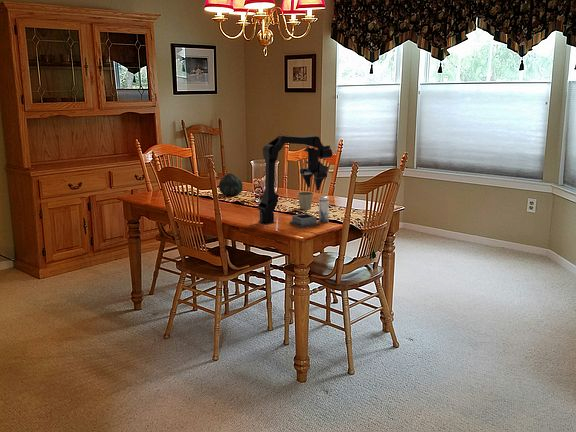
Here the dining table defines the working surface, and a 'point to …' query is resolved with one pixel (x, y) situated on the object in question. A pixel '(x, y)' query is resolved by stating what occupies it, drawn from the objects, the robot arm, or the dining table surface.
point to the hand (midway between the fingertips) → (313, 188)
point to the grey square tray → (304, 220)
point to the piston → (323, 209)
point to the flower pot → (305, 199)
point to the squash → (230, 185)
